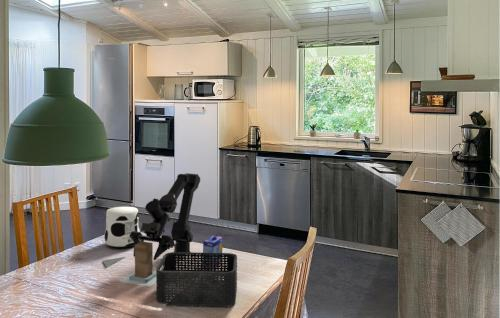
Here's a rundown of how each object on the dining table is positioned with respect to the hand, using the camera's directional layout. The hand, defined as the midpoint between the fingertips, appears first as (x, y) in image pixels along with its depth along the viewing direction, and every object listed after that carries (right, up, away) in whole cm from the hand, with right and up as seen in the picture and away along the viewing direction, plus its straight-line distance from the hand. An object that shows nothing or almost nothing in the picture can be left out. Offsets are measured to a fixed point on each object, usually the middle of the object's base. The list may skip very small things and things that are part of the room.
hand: (144, 258), depth 165 cm
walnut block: (0, -8, +1) cm, 8 cm away
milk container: (-22, -4, +42) cm, 48 cm away
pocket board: (0, -9, +1) cm, 9 cm away
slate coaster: (-17, -6, +17) cm, 25 cm away
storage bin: (+23, -11, -12) cm, 28 cm away
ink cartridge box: (+26, -8, +18) cm, 33 cm away
